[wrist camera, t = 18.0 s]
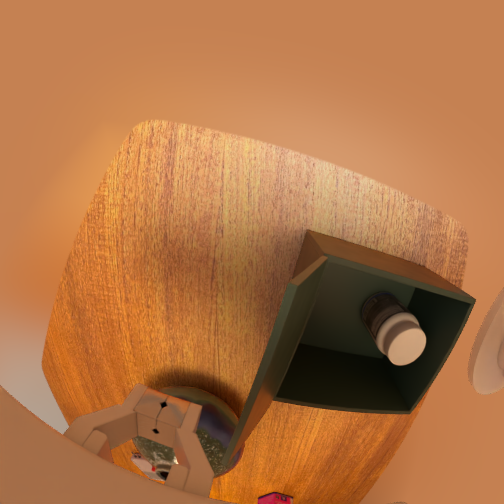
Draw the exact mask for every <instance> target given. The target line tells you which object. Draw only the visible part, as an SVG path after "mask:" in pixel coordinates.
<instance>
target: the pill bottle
mask: <svg viewBox="0 0 504 504" xmlns="http://www.w3.org/2000/svg"><path fill="white" fill-rule="evenodd" d="M362 320H363V323H364V325H365V326H366V328H367V330H368V332H369V333H370V335H371V337H372V339H373V340H374V342H375V343H376V345H377V347H378V349H379V350H380V351H381V352H382V353H383V354H385V355H387V357H388V359H389V360H390V361H391V362H392V363H393V364H395V365H406V364H409V363H411V362H413V361H414V360H416V359H417V358H418V357H419V356H420V355H421V353H422V352H423V350H424V348H425V345H426V336H425V333H424V332H423V331H422V329H421V328H420V327H419V323H418V320H417V319H416V317H415V316H414V315H413V314H412V313H411V312H410V311H409V310H408V309H407V308H406V307H405V306H404V305H403V304H402V303H401V302H400V301H399V300H398V299H397V298H396V297H395V296H394V295H393V294H391V293H388V292H379V293H376V294H374V295H372V296H371V297H370V298H369V299H368V300H367V301H366V302H365V304H364V306H363V308H362Z"/></svg>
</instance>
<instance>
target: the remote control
mask: <svg viewBox="0 0 504 504" xmlns="http://www.w3.org/2000/svg"><path fill="white" fill-rule="evenodd" d="M132 454H133V455H132V457H131V460H132V461H133V462H134V463H135V464H136V465H137V466H138V467H139V468H140V469H141V470H142V471H143V472H144V473H145V474H146V475H147V476H148V477H149V478H151V479H155V480H161V481H164V480H162V479H161V478H159V477H158V476H157V475H156V473H155V469H156V468H154V467H153V466H152V465H151V464H150V463H149V462H148V461H147V460H146V459H145V458H144V457H143V456H142V455H141V454H134V453H133V452H132Z"/></svg>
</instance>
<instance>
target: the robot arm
mask: <svg viewBox="0 0 504 504" xmlns="http://www.w3.org/2000/svg"><path fill="white" fill-rule="evenodd" d="M498 365H499V367H500V368H501V369H502V375H503V377H504V339H503V341H502V344H501V347H500V350H499V354H498ZM201 410H202V406H201V405H198V404H194V403H191V402H189V401H185V400H182V399H179V398H176V397H173V396H170V395H167V394H164V393H162V392H159V391H157V390H154V389H152V388H150V387H147V386H145V385H142V384H140V383H138V384H136V385H135V387H134V388H133V390H132V391H131V392H130V394H129V395H128V397H127V398H126V400H125V401H124V403H123V404H122V405H120V404H117V405H114V406H112V407H109V408H105V409H102V410H99V411H96V412H93V413H90V414H86V415H83V416H80V417H77V418H76V419H75V420H74V422H73V423H72V424H71V425H70V427H69V428H68V429H67V430H66V432H65V433H64V434H63V435H62V434H61V433H59V432H58V431H56V430H55V429H53V428H52V427H51V426H49V425H48V424H46V423H45V422H44V421H42V420H41V419H40V418H38V417H37V416H36V415H34V414H33V413H32V412H31V411H29V410H28V409H27V408H26V407H24V406H23V405H22V404H21V403H20V402H18V401H17V400H16V399H15V398H14V397H12V395H10V394H9V393H8V392H7V391H6V390H5V389H4V388H3V387H2V386H1V385H0V504H237V503H231V502H226V501H221V500H216V499H212V498H209V494H210V490H211V486H212V482H213V478H214V472H213V470H212V468H211V466H210V464H209V462H208V459H207V457H206V455H205V453H204V450H203V448H202V446H201V444H200V441H199V439H198V436H197V434H196V430H197V426H198V423H199V419H200V414H201ZM137 435H139V436H142V437H144V438H147V439H150V440H152V441H155V442H158V443H160V444H163V445H165V446H168V447H170V448H173V449H174V453H175V456H176V459H177V463H178V464H174V465H172V467H171V469H170V471H169V474H168V476H167V479H166V481H165V484H161V483H158V482H155V481H153V480H150V479H147V478H145V477H142V476H140V475H138V474H135V473H133V472H131V471H128V470H126V469H124V468H122V467H120V466H117V465H115V464H113V463H114V462H113V458H112V454H111V449H113V448H115V447H117V446H119V445H121V444H123V443H125V442H127V441H129V440H131V439H133V438H135V437H136V436H137ZM391 504H407V503H405V502H396V503H391Z"/></svg>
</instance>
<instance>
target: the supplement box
mask: <svg viewBox="0 0 504 504" xmlns="http://www.w3.org/2000/svg"><path fill="white" fill-rule="evenodd" d="M258 504H293V497H289V496H286V495H282V494H279V493H276V492H273V493H270V494H268V495H265V496H262V497H259V498H258Z"/></svg>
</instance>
